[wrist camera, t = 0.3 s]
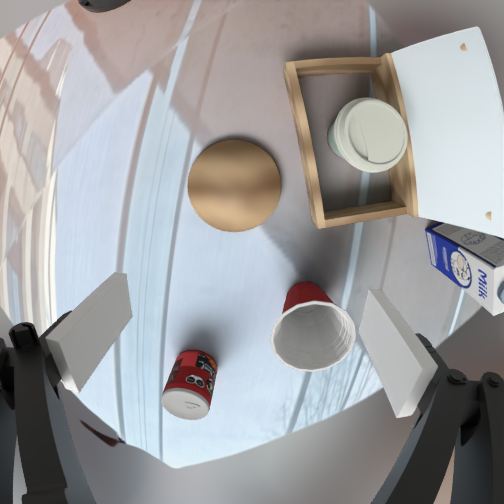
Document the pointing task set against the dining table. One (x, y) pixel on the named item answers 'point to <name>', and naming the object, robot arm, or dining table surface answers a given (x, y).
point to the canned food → (190, 385)
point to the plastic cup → (311, 330)
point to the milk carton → (470, 262)
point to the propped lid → (455, 129)
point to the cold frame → (399, 173)
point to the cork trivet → (234, 185)
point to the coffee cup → (368, 135)
